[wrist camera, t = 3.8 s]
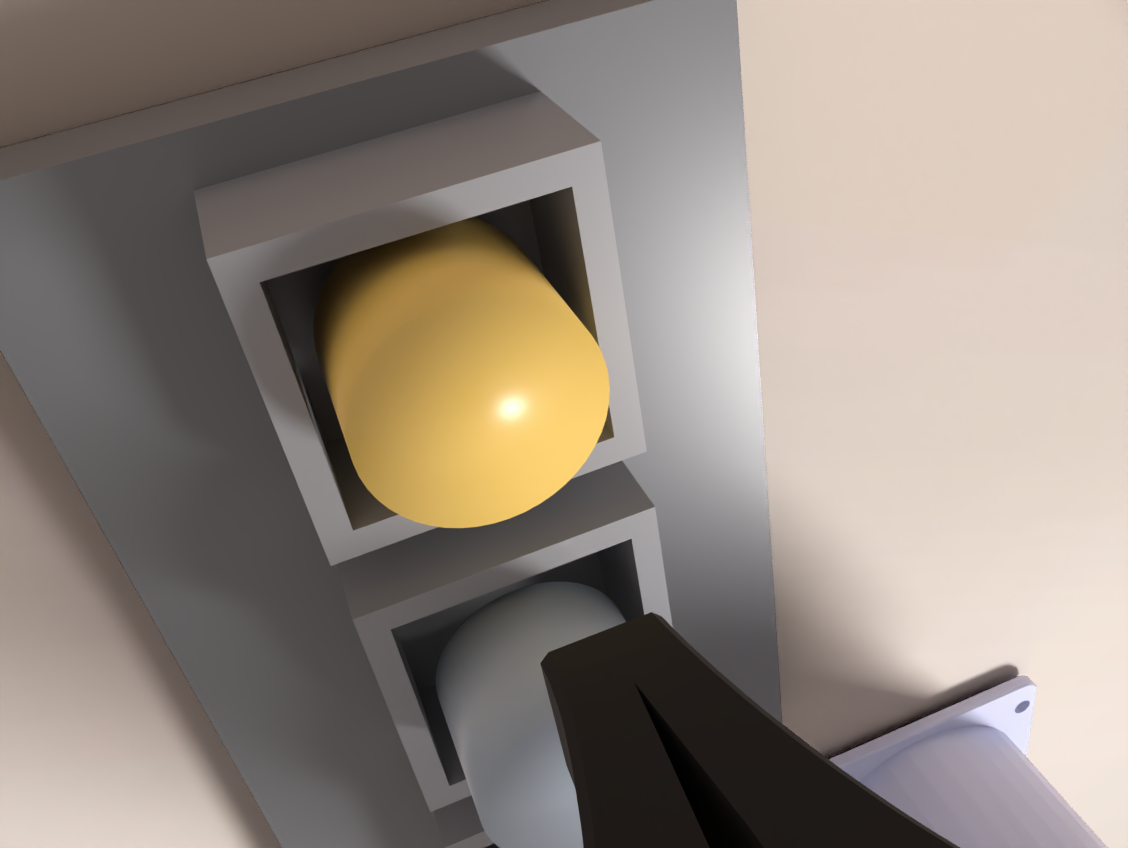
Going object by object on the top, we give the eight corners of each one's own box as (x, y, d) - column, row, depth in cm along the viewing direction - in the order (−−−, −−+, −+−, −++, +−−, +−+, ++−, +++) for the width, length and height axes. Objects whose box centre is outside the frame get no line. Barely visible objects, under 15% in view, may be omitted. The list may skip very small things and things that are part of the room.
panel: (757, 725, 29) (836, 846, 26) (334, 905, 27) (364, 1061, 24) (692, -39, 17) (822, 11, 14) (-69, 166, 15) (-115, 280, 12)
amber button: (560, 383, 18) (625, 476, 15) (351, 455, 17) (388, 563, 15) (520, 182, 16) (588, 257, 13) (280, 255, 15) (311, 346, 13)
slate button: (635, 687, 21) (700, 803, 18) (460, 759, 20) (504, 887, 18) (611, 553, 18) (679, 664, 16) (413, 629, 18) (456, 756, 16)
